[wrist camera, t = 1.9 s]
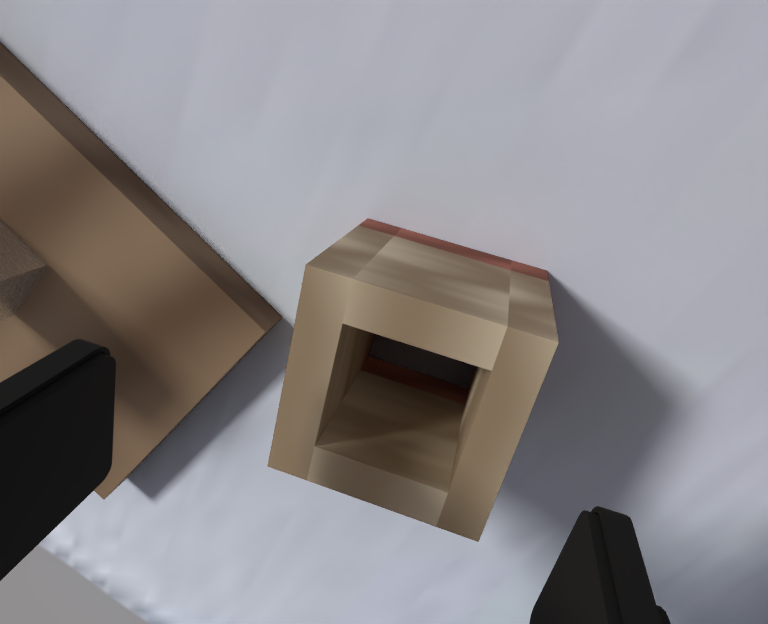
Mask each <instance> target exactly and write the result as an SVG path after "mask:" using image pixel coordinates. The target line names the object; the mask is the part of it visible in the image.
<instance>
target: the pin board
mask: <svg viewBox="0 0 768 624" xmlns="http://www.w3.org/2000/svg"><path fill="white" fill-rule="evenodd" d="M0 220H1V221H2V222H3V223H4V224H5V225H7V226H8V227H9V228H10V229H11V230H12V231H13V232H14V233H15V234H16V235H17V236H18V237H19V238H20V239H21V240H23V241H24V242H25V243H26V244H27V245H28V246H29V247H30V248H31V249H32V250H33V251H34V252H35V253H36V254H37V255H39V256H40V257H41V258H42V259H43V260H44V261H45V262H46V263H47V264H48V266H47V268H46V269H45V271H44V272H43V274H42V275H41V277H40V278H39V280H38V281H37V283H36V284H35V286H34V287H33V289H32V290H31V292H30V293H29V295H28V296H27V298H26V299H25V301H24V302H23V304H22V305H21V307H20V308H19V310H18V311H17V313H16V315H14V316H11V317H9V318H7V319H4V320H2V321H0V382H2V381H4V380H5V379H7V378H9V377H11V376H12V375H14V374H16V373H17V372H19V371H21V370H23V369H24V368H26V367H28V366H30V365H31V364H33V363H35V362H37V361H38V360H40V359H42V358H43V357H45V356H47V355H49V354H50V353H52V352H54V351H56V350H57V349H59V348H61V347H63V346H64V345H66V344H68V343H69V342H71V341H73V340H76V339H83V340H86V341H89V342H92V343H95V344H98V345H101V346H104V347H106V348H108V349H109V351H110V355H111V357H113V358H114V359H115V361H116V378H115V404H114V429H113V455H112V466H111V469H110V471H109V473H108V475H107V477H106V478H105V480H104V481H103V482H102V483H101V484H100V485H99V486H98V487H97V488H96V489H95V490H94V491H95V492H96V493H97V494H98V495H99V496H100V497H102V498H103V499H105V498H106V497H107V496H108V495H109V494H110V493H111V492H113V491H114V490H115V489H116V488H117V487H118V486H119V485H120V484H121V483H122V482H123V481H124V480H125V479H126V478H127V477H128V476H129V475H130V474H131V473H132V472H133V471H134V470H135V469H136V468H137V467H138V466H139V465H140V464H141V463H142V462H143V461H144V460H145V459H146V458H147V457H148V455H149V454H150V453H151V452H152V451H153V450H154V449H155V448H156V447H157V446H158V445H159V444H160V443H161V442H162V441H163V440H164V439H165V438H166V437H167V436H168V435H169V434H170V433H171V432H172V431H173V430H174V429H175V428H176V427H177V425H178V424H179V423H180V422H181V421H182V420H183V419H184V418H185V417H186V416H187V415H188V414H189V413H190V412H191V411H192V410H193V409H194V408H195V407H196V406H197V405H198V404H199V403H200V402H201V401H202V400H203V399H204V398H205V397H206V395H207V394H208V393H209V392H210V391H211V390H212V389H213V388H214V387H215V386H216V385H217V384H218V383H219V382H220V381H221V380H222V379H223V378H224V377H225V376H226V375H227V374H228V373H229V372H230V371H231V370H232V369H233V368H234V366H235V365H236V364H237V363H238V362H239V361H240V360H241V359H242V358H243V357H244V356H245V355H246V354H247V353H248V352H249V351H250V350H251V349H252V348H253V347H254V346H255V345H256V344H257V343H258V342H259V341H260V340H261V339H262V338H263V336H264V335H265V334H266V333H267V332H268V331H269V330H270V329H271V328H272V327H273V326H274V325H275V324H276V323H277V322H278V321H279V320H280V319H281V318H282V317H281V316H280V315H279V314H278V313H277V312H276V311H275V310H274V309H273V308H272V307H271V306H270V305H269V304H268V303H267V302H266V301H265V300H264V299H263V298H262V297H261V296H260V295H259V294H258V293H257V292H256V291H255V290H254V289H253V288H252V287H251V286H250V285H249V284H248V283H246V282H245V281H244V280H243V279H242V278H241V277H240V276H239V275H238V274H237V273H236V272H235V271H234V270H233V269H232V268H231V267H230V266H229V265H228V264H227V263H226V262H225V261H224V260H223V259H222V258H221V257H220V256H219V255H218V254H217V253H216V252H215V251H214V250H213V249H212V248H211V247H210V246H209V245H207V244H206V243H205V242H204V241H203V240H202V239H201V238H200V237H199V236H198V235H197V234H196V233H195V232H194V231H193V230H192V229H191V228H190V227H189V226H188V225H187V224H186V223H185V222H184V221H183V220H182V219H181V218H180V217H179V216H178V215H177V214H176V213H175V212H174V211H173V210H172V209H171V208H169V207H168V206H167V205H166V204H165V203H164V202H163V201H162V200H161V199H160V198H159V197H158V196H157V195H156V194H155V193H154V192H153V191H152V190H151V189H150V188H149V187H148V186H147V185H146V184H145V183H144V182H143V181H142V180H141V179H140V178H139V177H138V176H137V175H136V174H135V173H134V172H133V171H132V170H130V169H129V168H128V167H127V166H126V165H125V164H124V163H123V162H122V161H121V160H120V159H119V158H118V157H117V156H116V155H115V154H114V153H113V152H112V151H111V150H110V149H109V148H108V147H107V146H106V145H105V144H104V143H103V142H102V141H101V140H100V139H99V138H98V137H97V136H96V135H95V134H94V133H92V132H91V131H90V130H89V129H88V128H87V127H86V126H85V125H84V124H83V123H82V122H81V121H80V120H79V119H78V118H77V117H76V116H75V115H74V114H73V113H72V112H71V111H70V110H69V109H68V108H67V107H66V106H65V105H64V104H63V103H62V102H61V101H60V100H59V99H58V98H57V97H56V96H55V95H53V94H52V93H51V92H50V91H49V90H48V89H47V88H46V87H45V86H44V85H43V84H42V83H41V82H40V81H39V80H38V79H37V78H36V77H35V76H34V75H33V74H32V73H31V72H30V71H29V70H28V69H27V68H26V67H25V66H24V65H23V64H22V63H21V62H20V61H19V60H18V59H17V58H15V57H14V56H13V55H12V54H11V53H10V52H9V51H8V50H7V49H6V48H5V47H4V46H3V45H2V44H1V43H0Z"/></svg>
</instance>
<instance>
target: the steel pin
mask: <svg viewBox="0 0 768 624" xmlns="http://www.w3.org/2000/svg"><path fill="white" fill-rule="evenodd" d="M47 266H48V264H47V263H46V262H45V261H44V260H43V259H42V258H41V257H40V256H39V255H37V254H36V253H35V252H34V251H33V250H32V249H31V248H30V247H29V246H28V245H27V244H26V243H25V242H24V241H23V240H21V239H20V238H19V237H18V236H17V235H16V234H15V233H14V232H13V231H12V230H11V229H10V228H9V227H8V226H7V225H5V224H4V223H3V222H2V221H1V220H0V321H2V320H4V319H7V318H9V317H11V316H14V315H16V313H17V311H18V310H19V308H20V307H21V305H22V304H23V302H24V301H25V299H26V298H27V296H28V295H29V293H30V292H31V290H32V289H33V287H34V286H35V284H36V283H37V281H38V280H39V278H40V277H41V275H42V274H43V272H44V271H45V269H46V268H47Z"/></svg>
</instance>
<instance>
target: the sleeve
mask: <svg viewBox="0 0 768 624" xmlns="http://www.w3.org/2000/svg"><path fill="white" fill-rule="evenodd" d="M374 334H377V335H381V336H384V337H387V338H390V339H393V340H396V341H399V342H402V343H406V344H409V345H412V346H415V347H418V348H421V349H424V350H428V351H431V352H434V353H437V354H440V355H443V356H446V357H450V358H453V359H456V360H459V361H462V362H465V363H468V364H471V365H475V368H474V371H473V374H472V377H471V380H470V383H469V386H468V388H466V387H463V386H459V385H456V384H453V383H450V382H447V381H444V380H441V379H438V378H435V377H432V376H429V375H426V374H422V373H419V372H416V371H413V370H410V369H407V368H404V367H401V366H398V365H395V364H392V363H389V362H386V361H382V360H379V359H376V358H373V357H370V356H369V354H370V350H371V346H372V342H373V338H374ZM558 343H559V341H558V334H557V328H556V322H555V316H554V309H553V303H552V297H551V291H550V285H549V278H548V272H547V271H546V270H542V269H539V268H536V267H532V266H529V265H525V264H522V263H518V262H515V261H512V260H508V259H505V258H501V257H498V256H495V255H491V254H488V253H484V252H481V251H477V250H474V249H471V248H467V247H464V246H460V245H457V244H454V243H450V242H447V241H443V240H440V239H436V238H433V237H430V236H426V235H423V234H419V233H416V232H413V231H409V230H406V229H402V228H399V227H396V226H392V225H389V224H385V223H382V222H378V221H375V220H372V219H367V220H365V221H364V222H362V223H361V224H360V225H358V226H357V227H356V228H354V229H353V230H352V231H350V232H349V233H348V234H346V235H345V236H344V237H342V238H341V239H340V240H338V241H337V242H336V243H334V244H333V245H331V246H330V247H329V248H327V249H326V250H325V251H323V252H322V253H321V254H319V255H318V256H317V257H315V258H314V259H313V260H311V261H310V262H309V263H307V264H306V267H305V272H304V277H303V282H302V288H301V293H300V298H299V303H298V309H297V314H296V319H295V324H294V330H293V335H292V340H291V346H290V351H289V356H288V361H287V367H286V372H285V377H284V382H283V388H282V393H281V398H280V403H279V409H278V414H277V419H276V425H275V430H274V435H273V440H272V446H271V451H270V456H269V461H268V467H271V468H274V469H277V470H279V471H282V472H285V473H288V474H291V475H293V476H296V477H299V478H302V479H305V480H307V481H310V482H313V483H316V484H319V485H321V486H324V487H327V488H330V489H332V490H335V491H338V492H341V493H344V494H346V495H349V496H352V497H355V498H358V499H360V500H363V501H366V502H369V503H372V504H374V505H377V506H380V507H383V508H385V509H388V510H391V511H394V512H397V513H399V514H402V515H405V516H408V517H411V518H413V519H416V520H419V521H422V522H425V523H427V524H430V525H433V526H436V527H438V528H441V529H444V530H447V531H450V532H452V533H455V534H458V535H461V536H464V537H466V538H469V539H472V540H475V541H478V542H479V539H480V537H481V534H482V532H483V529H484V527H485V524H486V522H487V519H488V517H489V514H490V512H491V509H492V507H493V504H494V502H495V500H496V497H497V495H498V492H499V490H500V487H501V485H502V482H503V480H504V477H505V475H506V472H507V470H508V467H509V465H510V462H511V460H512V457H513V455H514V452H515V450H516V447H517V445H518V442H519V440H520V437H521V435H522V433H523V430H524V428H525V425H526V423H527V420H528V418H529V415H530V413H531V410H532V408H533V405H534V403H535V400H536V398H537V395H538V393H539V390H540V388H541V385H542V383H543V380H544V378H545V375H546V373H547V370H548V368H549V365H550V363H551V361H552V358H553V356H554V353H555V351H556V348H557V346H558Z"/></svg>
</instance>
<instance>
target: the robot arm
mask: <svg viewBox="0 0 768 624" xmlns="http://www.w3.org/2000/svg"><path fill="white" fill-rule="evenodd" d="M115 378H116V361H115V359H114V358H113V357H111V355H110V351H109V349H108V348H106V347H104V346H101V345H98V344H95V343H92V342H89V341H86V340H83V339H76V340H73V341H71V342H69V343H68V344H66V345H64V346H63V347H61V348H59V349H57V350H56V351H54V352H52V353H50V354H49V355H47V356H45V357H43V358H42V359H40V360H38V361H37V362H35V363H33V364H31V365H30V366H28V367H26V368H24V369H23V370H21V371H19V372H17V373H16V374H14V375H12V376H11V377H9V378H7V379H5V380H4V381H2V382H0V581H1V580H2V579H3V578H4V577H5V576H6V575H7V574H8V573H9V572H10V571H11V570H12V569H13V568H14V567H15V566H16V565H17V564H18V563H19V562H20V561H21V560H22V559H23V558H24V557H25V556H26V555H27V554H28V553H30V551H32V550H33V549H34V547H36V546H37V545H38V544H39V543H40V542H41V541H42V540H43V539H44V538H45V537H46V536H47V535H48V534H49V533H50V532H51V531H52V530H53V529H54V528H55V527H56V526H57V525H58V524H59V523H61V522H62V521H63V520H64V519H65V518H66V517H67V516H68V515H69V514H70V513H71V512H72V511H73V510H74V509H75V508H76V507H77V506H78V505H79V504H80V503H81V502H82V501H83V500H84V499H85V498H86V497H87V496H88V495H89V494H90V493H91V492H93V491H94V490H95V489H96V488H97V487H98V486H99V485H100V484H101V483H102V482H103V481H104V480H105V478H106V477H107V475H108V473H109V471H110V469H111V466H112V455H113V429H114V404H115ZM530 624H670V621H669V618H668V616H667V614H666V612H665V611H664V610H663V609H662V607H660V606H657V605H656V603H655V599H654V596H653V592H652V589H651V585H650V582H649V579H648V575H647V572H646V568H645V565H644V561H643V558H642V554H641V551H640V548H639V544H638V541H637V537H636V534H635V530H634V527H633V523H632V521H631V519H630V517H628V516H627V515H624V514H621V513H618V512H614V511H611V510H608V509H605V508H602V507H599V506H597V507H595V508H594V509H593V510H592V511H591V512H588V511H582V512H581V514H580V515H579V517H578V519H577V521H576V523H575V525H574V527H573V529H572V531H571V533H570V535H569V537H568V539H567V541H566V543H565V545H564V547H563V549H562V551H561V553H560V555H559V557H558V559H557V561H556V563H555V565H554V567H553V569H552V571H551V574H550V576H549V578H548V580H547V582H546V584H545V586H544V588H543V590H542V592H541V594H540V596H539V598H538V600H537V602H536V604H535V606H534V608H533V610H532V614H531V618H530Z"/></svg>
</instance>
